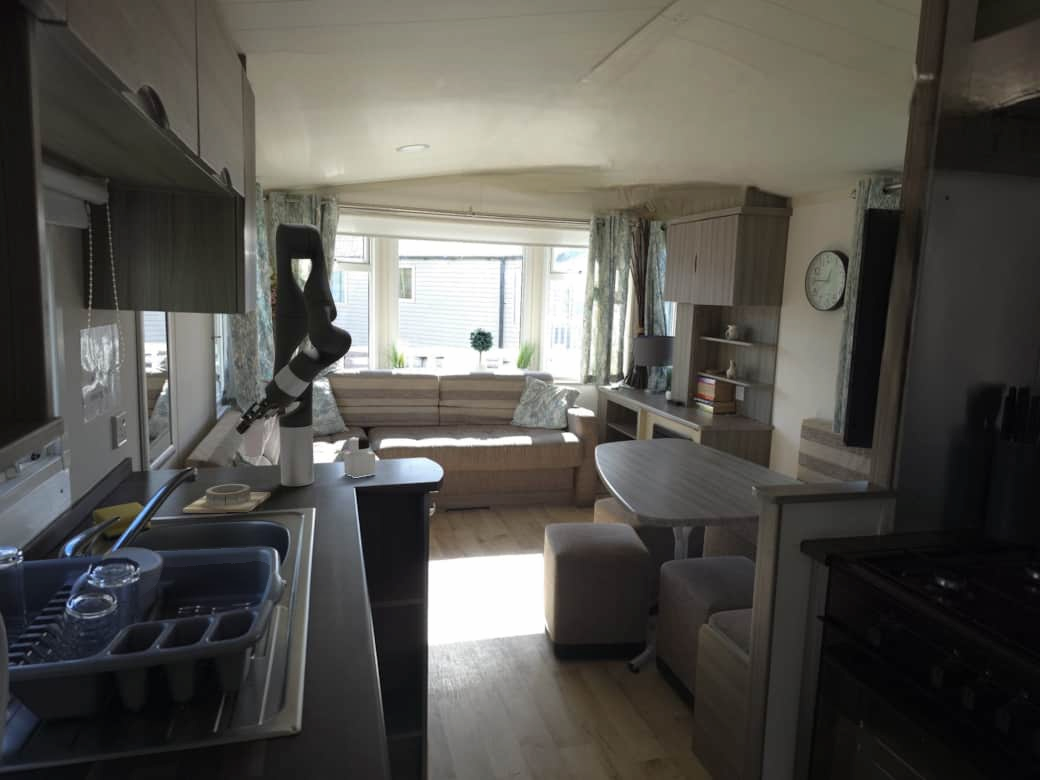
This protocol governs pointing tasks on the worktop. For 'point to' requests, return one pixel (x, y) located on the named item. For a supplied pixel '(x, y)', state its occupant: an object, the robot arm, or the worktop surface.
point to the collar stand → (227, 500)
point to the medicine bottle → (359, 457)
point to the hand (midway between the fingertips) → (246, 429)
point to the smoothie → (254, 438)
